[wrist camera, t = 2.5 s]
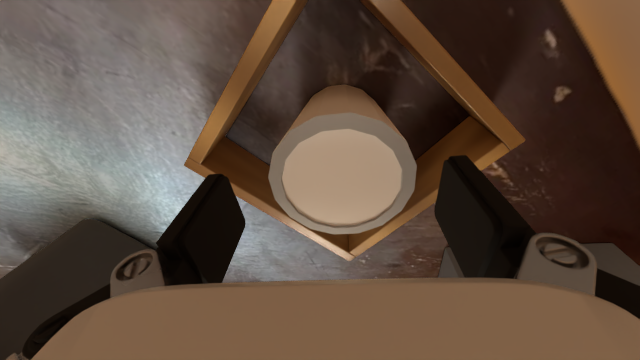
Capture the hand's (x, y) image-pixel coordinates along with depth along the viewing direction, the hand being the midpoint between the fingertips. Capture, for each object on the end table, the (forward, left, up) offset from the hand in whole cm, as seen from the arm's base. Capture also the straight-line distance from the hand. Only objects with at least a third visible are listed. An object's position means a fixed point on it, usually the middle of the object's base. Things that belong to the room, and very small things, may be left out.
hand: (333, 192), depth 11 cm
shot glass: (0, 0, -8) cm, 8 cm away
